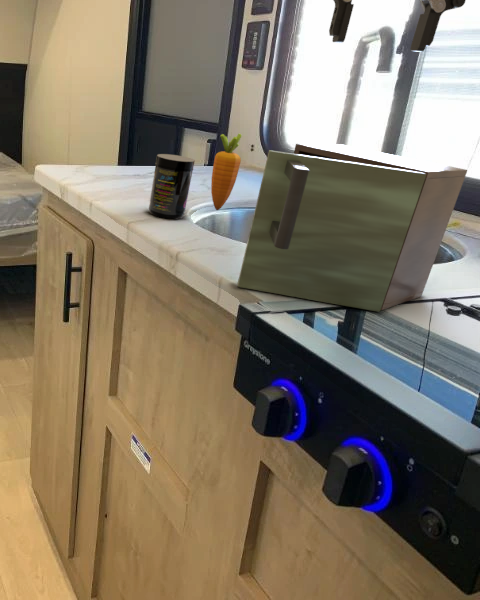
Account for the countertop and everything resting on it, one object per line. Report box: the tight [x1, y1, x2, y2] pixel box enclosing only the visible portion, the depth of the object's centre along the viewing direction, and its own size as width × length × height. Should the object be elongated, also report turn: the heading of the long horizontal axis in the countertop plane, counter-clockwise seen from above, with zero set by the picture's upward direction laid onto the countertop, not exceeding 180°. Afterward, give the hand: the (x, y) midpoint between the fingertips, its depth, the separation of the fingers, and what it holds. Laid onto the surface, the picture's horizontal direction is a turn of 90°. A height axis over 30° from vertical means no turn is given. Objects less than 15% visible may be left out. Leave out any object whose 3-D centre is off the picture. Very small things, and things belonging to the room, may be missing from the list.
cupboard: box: [293, 143, 468, 311], centre depth 82 cm, size 12×18×18 cm
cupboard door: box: [237, 149, 426, 313], centre depth 70 cm, size 8×18×17 cm, turn 79°
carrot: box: [210, 133, 243, 211], centre depth 116 cm, size 5×5×15 cm
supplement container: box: [148, 153, 196, 220], centre depth 108 cm, size 7×7×10 cm
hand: (377, 46), depth 65 cm, fingers open, 8 cm apart
